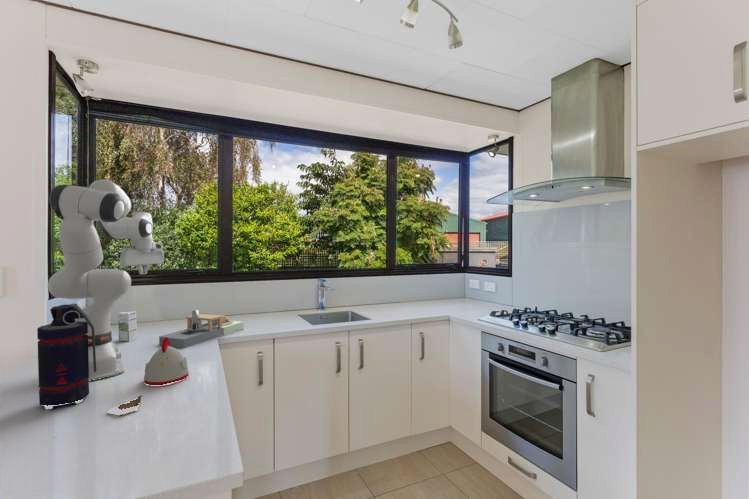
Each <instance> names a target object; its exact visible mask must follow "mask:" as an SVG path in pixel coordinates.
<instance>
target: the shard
mask: <svg viewBox="0 0 749 499" xmlns="http://www.w3.org/2000/svg"><path fill="white" fill-rule="evenodd" d="M137 397H138V399H136V400H133V401H130V403H127V404H122V405H120V406H119V407H118V408H119V409H121V410H122V409H123V408H124V409H126V408H130V407H133V406H134V407H135V406H137V405H139V404H138V403H140V404H141V402H140V400H141V401H142V399H141V398H142V395H139V396H137ZM139 406H140V405H139Z"/></svg>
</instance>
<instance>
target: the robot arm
mask: <svg viewBox="0 0 749 499" xmlns="http://www.w3.org/2000/svg"><path fill="white" fill-rule="evenodd" d="M48 197H49V198H48V202H49V205H50V207H51V209H52V210H53V213H54V214H55V216H56V217H57V218H58V219H60V220H61V222H60V223H59V226H58V234H59V242H60V248H61V251H62V254H63V259H64V264H63V267H62V268H61V269H60V270H59V271H56V272H55V273H54V274H52V275H51V276H50V278H49V280H48V282H47V288H48V291H49V293H50V294H51V295H52V296H53V297H54V298H57V299H69V300H75V299H90V298H91V299H92V303H91V304H90V305H88V306H86V307H83V308H81V309H82V311H83V312H84V313H85V314H86V315H87V317H88V318H89V320H90V321H91V322H92V324H93V325H94V335H95V353H96V372H94V364H93V346H92V329H91V327H90V326H89V324H88V333H87V335H88V358H89V378H88V380H93V379H99V378H103V379H105V378H104V377H108V376H111V377H113V376H112V375H115V376H117V375H116V374H118V375H120V374H119V373H121V374H123V373H125V369H124V364H123V361H122V360H121V359H122V352H119V348H118V347H116V343H115V342H113V334H112V330H111V316H112V315H111V314H112V310H113V308H114V305H116V302H117V301H118V300H119V299H120V298H121V297H122V296H124V295H125V294H127V292H129V290H130V289H131V286H132V278H131V276H130V274H129V273H128V272H127V271H126V270H123V269H116V268H102V269H101V268H100V269H99V268H98V267H99V266H100V265H101V264H102V262H103V260H104V252H103V249H102V244H101V240H100V236H99V234H98V231H97V228H96V227H95V224H94V222H95V221H97V223H98V225H99V226H100V229H101V233H102V234H103V236H104V237H106V238H107V239H108V240H121V239H122V240H126V239H127V240H128V239H131V245H124V246H123V247H121V249H120V259H119V264H120V266H123V267H127V266H131V267H132V266H136V269H137V271H138V274H139V275H146V274H148V270H149V268H150V265H158V264H161V265H162V264H163V263H164V262H165V253H164V250H163V249H164V245H163V244H161V243H158V242H157V241H154V237H153V232H154V224H153V217H152V214H151V213H150V212H147V211H142V210H139V211H133V213H132V216H131V217H126V216H127V215H128V214H129V212H130V211H131V209H132V202H131V199H130V198H129V195H127V193H126V192H125V190H123V189H122V188H121V187H120V186H119V185H117V184H116V183H115V182H113V181H112V180H110V179H106V178H104V179H103V178H100V179H97V180H95V181H93V182H92V183H91V184H90V185H89V187H87V186H78V185H72V184H58V185H56V186H55V187H54V188H53V189H52V190H51V191H50V193H49V196H48ZM143 267H144V268H143ZM77 320H78V319H75V321H77ZM79 321H84V322H87V321H86V320H85V318H80V319H79ZM122 372H123V373H122ZM108 378H109V377H108ZM99 380H100V379H99Z"/></svg>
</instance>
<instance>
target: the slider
mask: <svg viewBox="0 0 749 499" xmlns="http://www.w3.org/2000/svg"><path fill="white" fill-rule="evenodd" d="M198 314H199V309H195V310H194V309H193V310H191V316H192V327H189V328H186V329H187V330H192V331H201V332H202V331H206V330H208V328H204V329H199V327H202V326H206V325H208V322H205V323H202V324H201V325H199V316H198ZM233 321H234V320H231V318H226V323H222V326H223V325H227V324H230V323H233ZM212 325H215V326H212V329H213V328H216V327H218V321H212Z"/></svg>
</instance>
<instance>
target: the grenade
mask: <svg viewBox="0 0 749 499" xmlns="http://www.w3.org/2000/svg"><path fill="white" fill-rule="evenodd" d="M82 309H83V308H81V307H80V306H79V305H78V303H71V304H60V305H57V306H52V307H51V308H50V309H49V311H50V314H51V317H52V319H53V320H51V323H48V324H45V325H41V326H39V327H37V329H36V330H37V331H36V332H37V336H36V337H37V340H38V341H37V361H38V362H37V365H38V366H37V367H38V368H37V369H38V371H37V372H38V388H39V389H38V399H39V401H38V402H39V403H38V404H39V406H41V405H47V406H48V405H59V404H65V403H71V404H73V403H72V402H75V401H78V400H81V399H83V398H84V399H85V398H86V397H88V396H89V394H90V381H89V380H88V378H89V358H88V335H87V333H88V324H89V326H90V327H91V329H92V346H93V364H94V372H96V353H95V335H94V325H93V324H92V322H91V321H90V320H89V318H88V317H87V315H86V314H85V313H84V312H83V311H82ZM80 318H85V320H86V321H87V322H84V321H79V319H80ZM75 319H78V320H77V321H75Z"/></svg>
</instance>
